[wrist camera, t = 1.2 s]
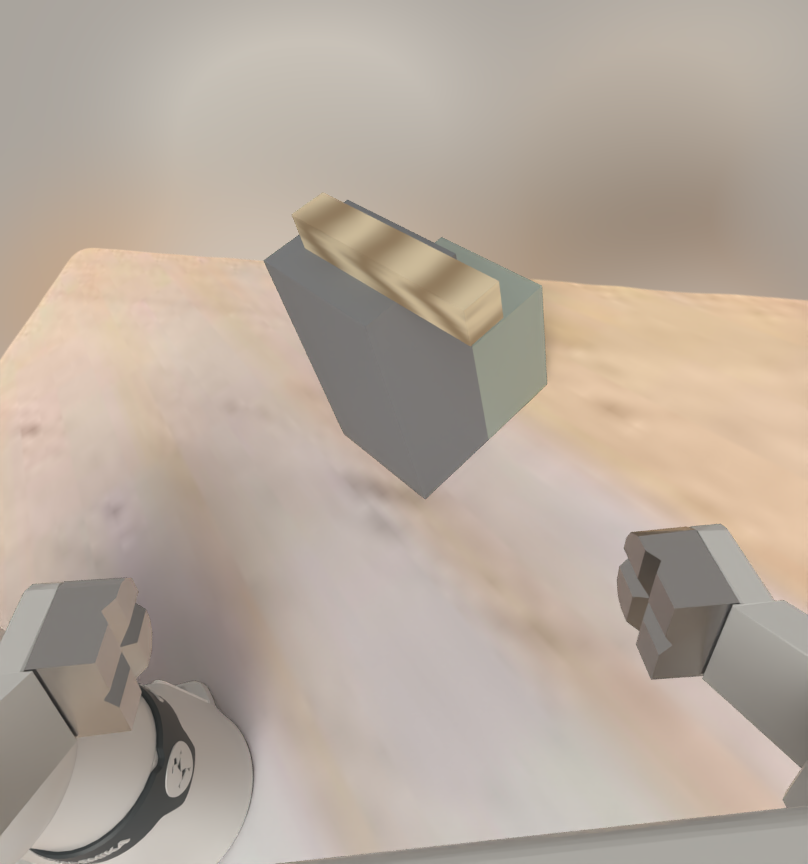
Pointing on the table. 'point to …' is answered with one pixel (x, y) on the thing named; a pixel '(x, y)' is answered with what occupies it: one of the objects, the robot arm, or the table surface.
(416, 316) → the step stand
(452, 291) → the batten
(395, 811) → the table surface
